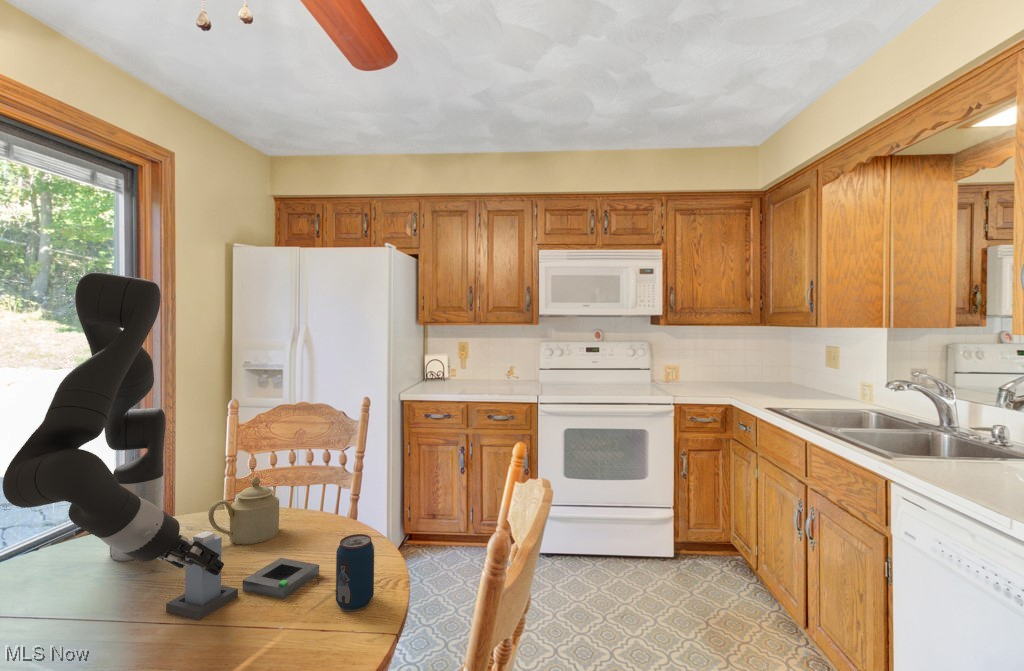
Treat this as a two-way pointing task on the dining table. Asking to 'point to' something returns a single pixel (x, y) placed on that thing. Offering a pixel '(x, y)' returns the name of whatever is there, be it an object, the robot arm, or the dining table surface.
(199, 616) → the holster
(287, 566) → the port
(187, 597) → the plug
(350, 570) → the soda can
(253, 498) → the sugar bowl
